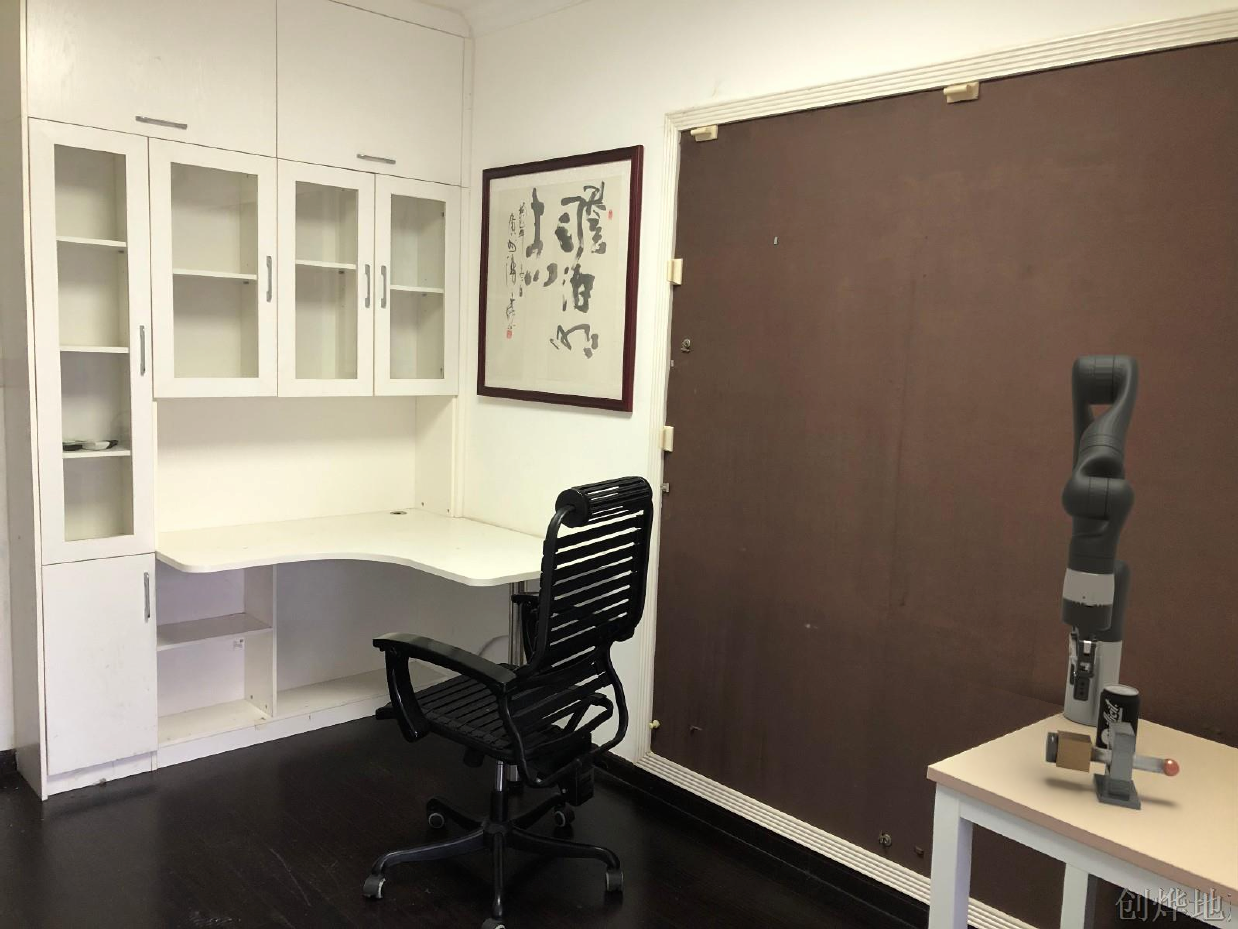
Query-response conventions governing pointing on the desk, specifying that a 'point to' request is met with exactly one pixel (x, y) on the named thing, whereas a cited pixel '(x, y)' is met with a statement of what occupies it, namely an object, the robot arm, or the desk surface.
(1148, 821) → the desk surface
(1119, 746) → the square loop bracket
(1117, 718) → the beverage can
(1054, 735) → the metal rod with knob
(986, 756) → the desk surface
